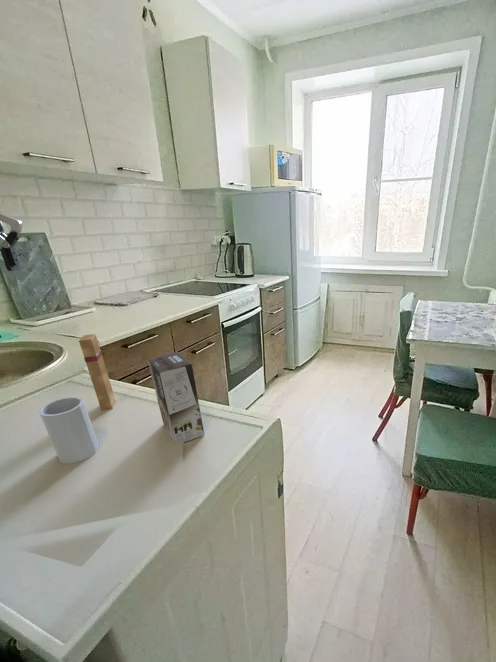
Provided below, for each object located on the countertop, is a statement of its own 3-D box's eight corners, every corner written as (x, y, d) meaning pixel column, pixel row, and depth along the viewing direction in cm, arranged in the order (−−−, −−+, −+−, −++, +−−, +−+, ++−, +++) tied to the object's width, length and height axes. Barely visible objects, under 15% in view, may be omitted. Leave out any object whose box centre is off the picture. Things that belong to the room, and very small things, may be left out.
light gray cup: (50, 463, 67) (29, 413, 62) (80, 441, 73) (62, 395, 68) (80, 468, 65) (60, 417, 61) (107, 446, 71) (91, 398, 67)
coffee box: (206, 435, 73) (193, 363, 66) (175, 446, 70) (158, 372, 63) (191, 416, 80) (178, 350, 73) (163, 426, 77) (146, 357, 70)
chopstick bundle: (101, 412, 84) (78, 340, 76) (105, 404, 88) (83, 335, 80) (113, 410, 85) (91, 339, 77) (116, 402, 88) (95, 333, 80)
